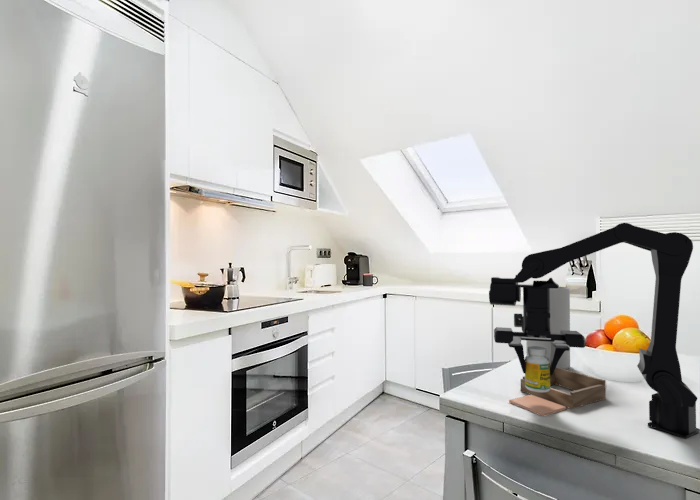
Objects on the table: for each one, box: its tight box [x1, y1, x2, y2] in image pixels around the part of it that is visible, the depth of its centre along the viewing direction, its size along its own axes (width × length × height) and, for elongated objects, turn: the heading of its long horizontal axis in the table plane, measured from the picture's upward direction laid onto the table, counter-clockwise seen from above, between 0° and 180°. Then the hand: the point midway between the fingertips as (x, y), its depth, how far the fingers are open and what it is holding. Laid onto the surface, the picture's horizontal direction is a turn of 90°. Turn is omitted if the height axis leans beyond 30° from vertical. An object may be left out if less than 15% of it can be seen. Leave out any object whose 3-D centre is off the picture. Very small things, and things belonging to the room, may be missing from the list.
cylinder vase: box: [525, 286, 571, 370], centre depth 126 cm, size 12×12×25 cm
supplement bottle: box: [524, 346, 551, 392], centre depth 91 cm, size 5×5×10 cm
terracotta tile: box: [508, 394, 567, 417], centre depth 91 cm, size 9×8×1 cm
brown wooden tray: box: [520, 367, 607, 410], centre depth 99 cm, size 14×14×4 cm
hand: (537, 373), depth 91 cm, fingers closed on supplement bottle, 5 cm apart
